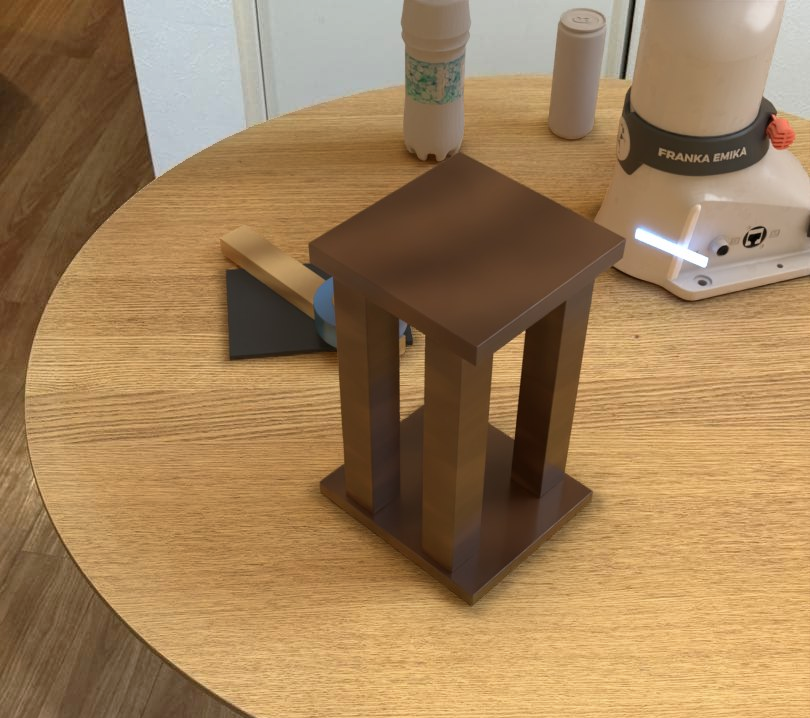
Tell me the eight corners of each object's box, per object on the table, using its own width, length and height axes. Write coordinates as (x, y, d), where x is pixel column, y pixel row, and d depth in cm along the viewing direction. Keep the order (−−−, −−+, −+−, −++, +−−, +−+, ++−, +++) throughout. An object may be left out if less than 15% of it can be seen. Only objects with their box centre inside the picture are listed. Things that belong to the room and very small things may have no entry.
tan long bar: (200, 264, 108) (193, 226, 104) (266, 228, 111) (262, 190, 108) (358, 381, 98) (357, 343, 94) (426, 338, 101) (427, 299, 98)
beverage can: (590, 143, 121) (605, 33, 112) (544, 138, 122) (555, 28, 113) (594, 119, 124) (609, 9, 115) (550, 114, 125) (561, 4, 116)
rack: (319, 491, 90) (296, 236, 72) (440, 401, 97) (448, 145, 78) (471, 606, 83) (490, 355, 65) (591, 501, 90) (640, 245, 71)
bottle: (474, 161, 119) (484, -36, 104) (411, 172, 118) (412, -26, 102) (453, 127, 123) (460, -68, 108) (393, 137, 122) (391, -58, 107)
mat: (396, 260, 109) (396, 256, 108) (413, 344, 101) (413, 340, 101) (226, 274, 108) (225, 269, 107) (230, 360, 100) (229, 356, 100)
